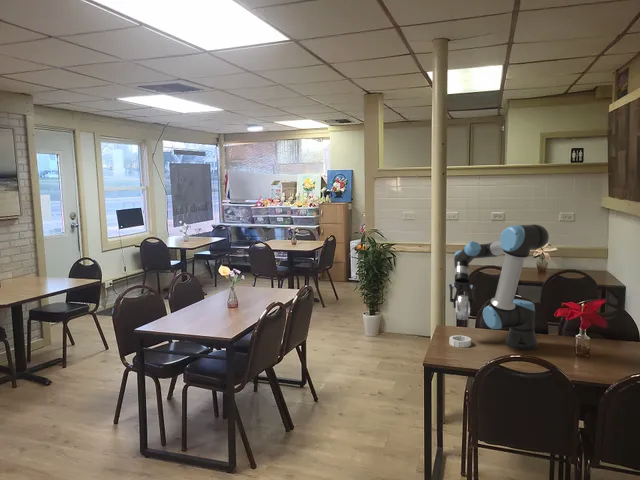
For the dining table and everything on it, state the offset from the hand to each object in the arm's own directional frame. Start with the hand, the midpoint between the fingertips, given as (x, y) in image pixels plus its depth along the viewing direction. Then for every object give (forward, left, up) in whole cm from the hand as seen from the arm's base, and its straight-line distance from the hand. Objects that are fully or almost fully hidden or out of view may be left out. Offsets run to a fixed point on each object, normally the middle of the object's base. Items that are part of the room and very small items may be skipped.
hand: (462, 313), depth 249 cm
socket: (0, +2, -16) cm, 16 cm away
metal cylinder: (+3, -2, -4) cm, 5 cm away
